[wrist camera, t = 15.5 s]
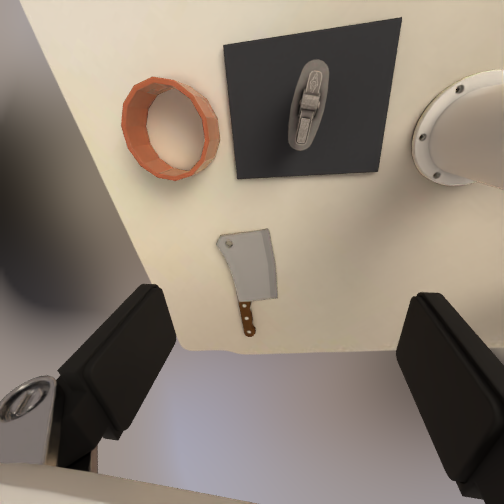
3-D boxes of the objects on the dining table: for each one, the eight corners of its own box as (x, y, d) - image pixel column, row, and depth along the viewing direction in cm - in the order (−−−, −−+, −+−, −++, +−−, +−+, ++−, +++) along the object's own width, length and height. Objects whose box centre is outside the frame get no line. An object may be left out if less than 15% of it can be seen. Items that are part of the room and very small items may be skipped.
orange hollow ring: (212, 77, 32) (199, 70, 27) (224, 172, 37) (215, 178, 33) (132, 88, 34) (108, 82, 29) (155, 176, 39) (137, 182, 35)
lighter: (299, 72, 29) (301, 49, 20) (327, 76, 29) (340, 55, 20) (285, 143, 33) (281, 149, 24) (309, 147, 33) (314, 155, 24)
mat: (399, 19, 26) (402, 17, 26) (376, 170, 34) (378, 171, 33) (224, 46, 30) (223, 44, 29) (238, 178, 37) (237, 179, 36)
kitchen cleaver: (282, 336, 50) (236, 337, 52) (282, 333, 51) (236, 333, 53) (271, 229, 40) (213, 234, 41) (271, 227, 40) (215, 231, 42)
